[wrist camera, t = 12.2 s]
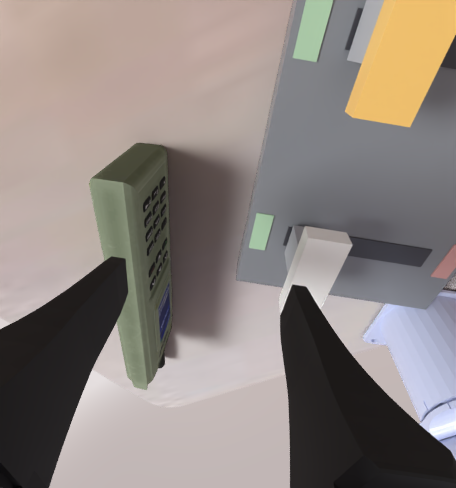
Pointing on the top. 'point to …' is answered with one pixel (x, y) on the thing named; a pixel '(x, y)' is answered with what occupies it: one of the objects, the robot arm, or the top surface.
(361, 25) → the amber switch
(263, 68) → the top surface
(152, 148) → the handheld radio
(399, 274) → the switch panel
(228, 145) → the top surface
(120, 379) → the top surface
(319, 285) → the white switch
